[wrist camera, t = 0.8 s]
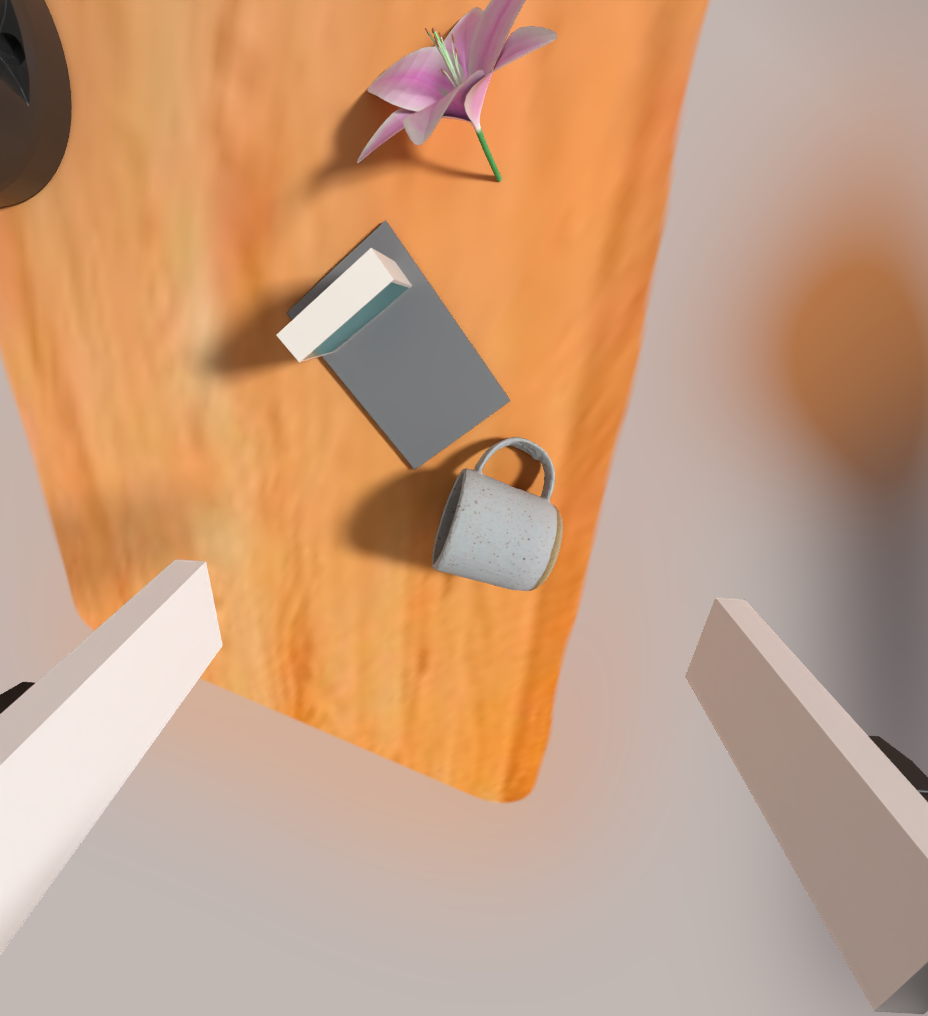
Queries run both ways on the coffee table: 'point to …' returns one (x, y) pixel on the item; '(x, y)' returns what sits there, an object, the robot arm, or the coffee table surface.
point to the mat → (412, 362)
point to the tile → (345, 307)
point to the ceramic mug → (499, 527)
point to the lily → (453, 74)
